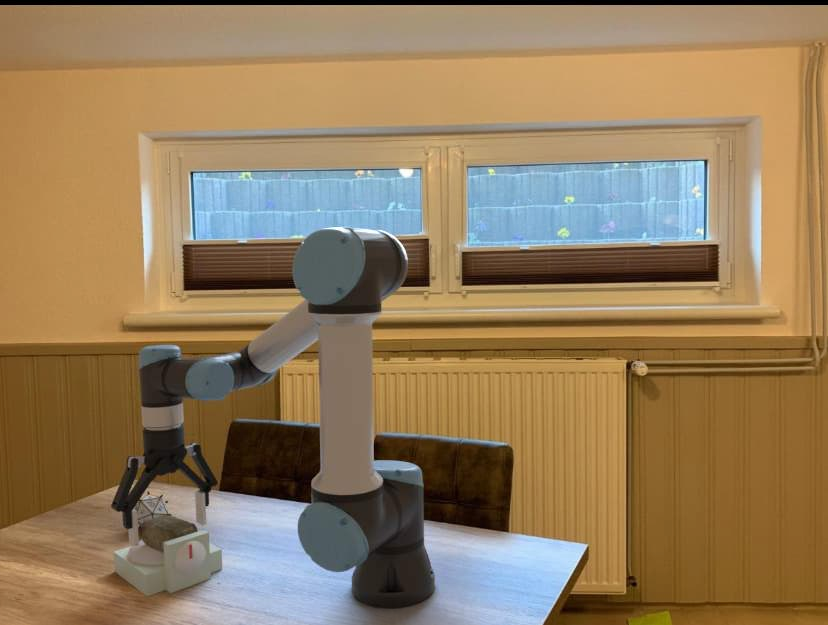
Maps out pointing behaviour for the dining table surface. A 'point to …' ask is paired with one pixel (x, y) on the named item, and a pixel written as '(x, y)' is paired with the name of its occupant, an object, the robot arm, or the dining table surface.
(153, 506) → the game die
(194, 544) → the scale
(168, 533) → the stone block
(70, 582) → the dining table surface
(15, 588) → the dining table surface
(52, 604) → the dining table surface
